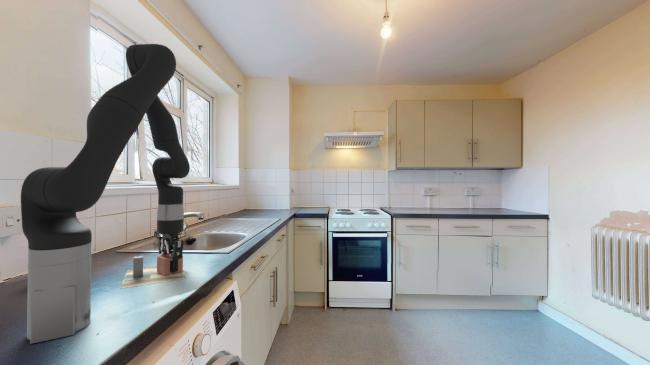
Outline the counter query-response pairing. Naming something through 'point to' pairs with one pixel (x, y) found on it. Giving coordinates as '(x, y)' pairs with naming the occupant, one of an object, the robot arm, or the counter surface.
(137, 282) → the beige flat rectangular board
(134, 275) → the d shaft post
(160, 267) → the brown boxy piece
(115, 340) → the counter surface
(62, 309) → the robot arm
